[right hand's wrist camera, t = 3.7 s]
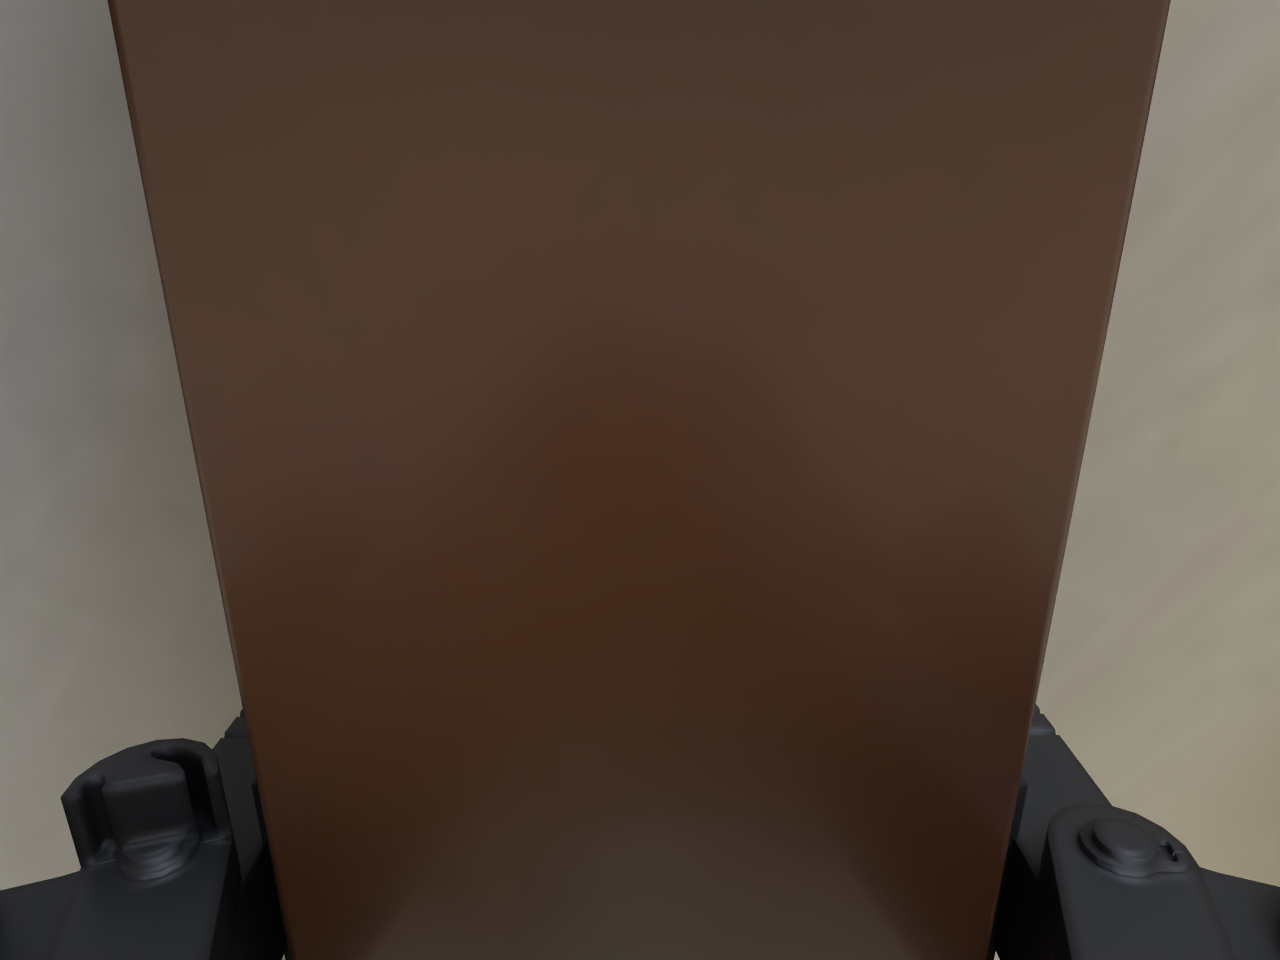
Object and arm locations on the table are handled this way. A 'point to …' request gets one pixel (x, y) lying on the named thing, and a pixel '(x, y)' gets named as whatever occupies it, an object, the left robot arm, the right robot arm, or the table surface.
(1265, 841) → the table surface
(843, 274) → the walnut box
